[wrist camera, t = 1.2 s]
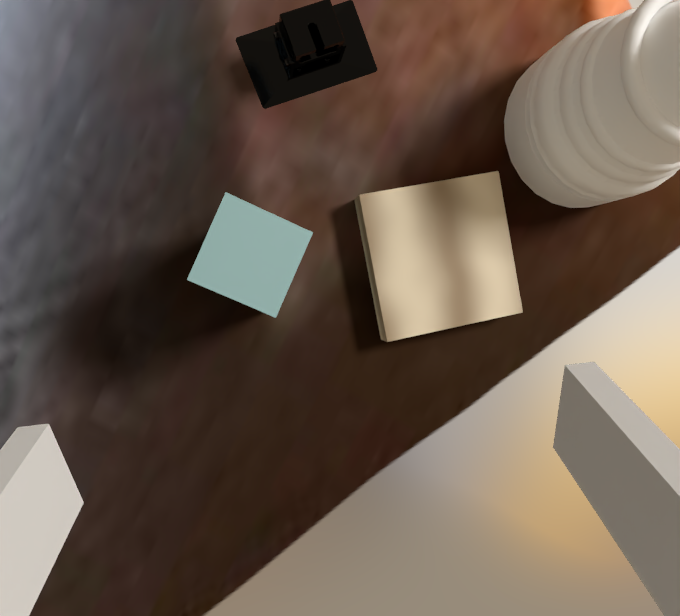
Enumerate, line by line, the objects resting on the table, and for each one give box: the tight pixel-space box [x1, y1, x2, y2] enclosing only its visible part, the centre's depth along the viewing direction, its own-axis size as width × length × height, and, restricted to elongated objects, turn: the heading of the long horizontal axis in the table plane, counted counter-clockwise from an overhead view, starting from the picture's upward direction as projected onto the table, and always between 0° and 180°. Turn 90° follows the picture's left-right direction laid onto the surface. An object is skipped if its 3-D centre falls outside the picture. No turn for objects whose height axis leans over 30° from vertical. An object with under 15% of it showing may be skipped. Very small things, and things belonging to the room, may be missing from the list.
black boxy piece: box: [236, 0, 377, 109], centre depth 36 cm, size 12×7×5 cm, turn 112°
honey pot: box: [504, 0, 680, 208], centre depth 32 cm, size 13×13×18 cm
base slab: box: [354, 171, 523, 342], centre depth 39 cm, size 11×11×2 cm
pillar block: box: [187, 193, 313, 318], centre depth 32 cm, size 5×5×11 cm
